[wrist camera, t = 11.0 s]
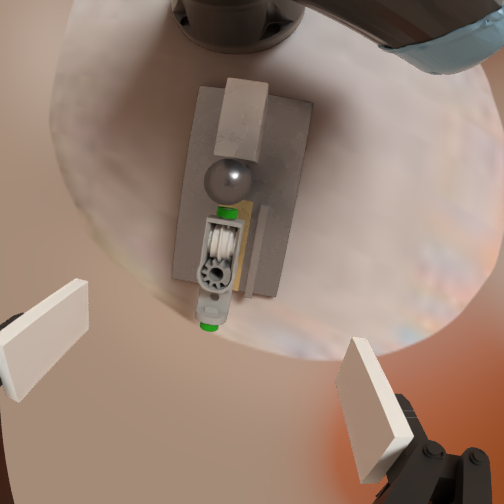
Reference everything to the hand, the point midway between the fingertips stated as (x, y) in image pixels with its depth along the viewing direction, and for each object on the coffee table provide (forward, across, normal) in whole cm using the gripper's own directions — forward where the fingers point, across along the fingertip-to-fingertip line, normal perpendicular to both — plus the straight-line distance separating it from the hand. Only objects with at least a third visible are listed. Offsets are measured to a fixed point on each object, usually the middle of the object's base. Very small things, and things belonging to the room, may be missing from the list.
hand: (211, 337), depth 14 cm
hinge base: (+21, -1, +5) cm, 22 cm away
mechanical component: (+20, -1, -1) cm, 20 cm away
